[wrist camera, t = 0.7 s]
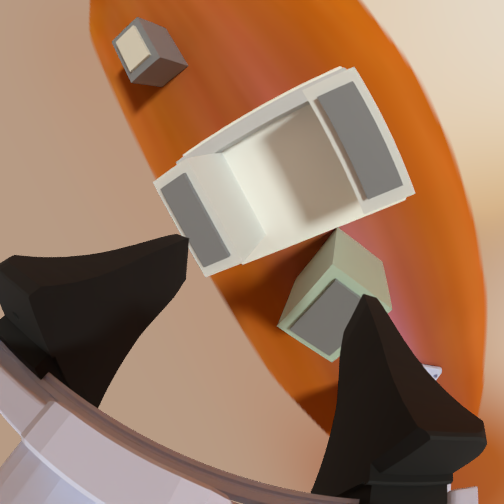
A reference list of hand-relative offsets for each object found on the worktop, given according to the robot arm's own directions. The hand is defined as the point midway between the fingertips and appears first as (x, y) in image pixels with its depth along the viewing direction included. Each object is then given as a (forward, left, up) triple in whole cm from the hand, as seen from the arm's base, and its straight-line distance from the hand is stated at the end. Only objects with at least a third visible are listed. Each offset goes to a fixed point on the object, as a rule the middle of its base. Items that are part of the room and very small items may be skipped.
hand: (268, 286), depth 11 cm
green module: (-4, -3, -11) cm, 12 cm away
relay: (+12, +14, -11) cm, 21 cm away
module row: (+3, +2, -11) cm, 11 cm away
